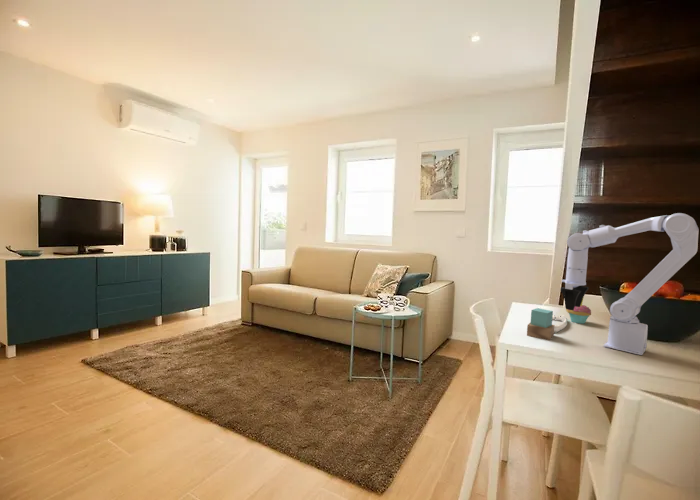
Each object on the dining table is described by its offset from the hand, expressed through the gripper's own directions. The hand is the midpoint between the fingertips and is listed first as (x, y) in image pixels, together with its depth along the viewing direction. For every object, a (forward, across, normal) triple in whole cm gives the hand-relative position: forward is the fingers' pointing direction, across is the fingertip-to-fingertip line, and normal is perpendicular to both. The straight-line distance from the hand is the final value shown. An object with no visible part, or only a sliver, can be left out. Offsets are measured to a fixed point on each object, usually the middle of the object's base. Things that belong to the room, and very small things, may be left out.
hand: (573, 307), depth 120 cm
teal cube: (+6, +8, -7) cm, 12 cm away
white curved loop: (+10, -10, -9) cm, 17 cm away
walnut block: (+10, +8, -7) cm, 15 cm away
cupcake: (+10, -24, -4) cm, 26 cm away
